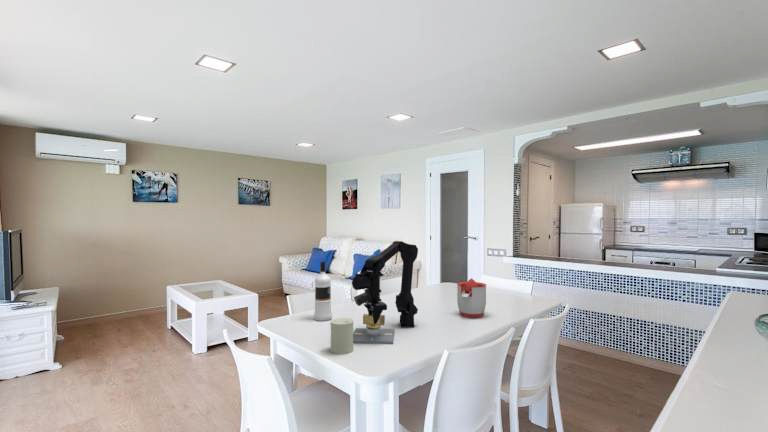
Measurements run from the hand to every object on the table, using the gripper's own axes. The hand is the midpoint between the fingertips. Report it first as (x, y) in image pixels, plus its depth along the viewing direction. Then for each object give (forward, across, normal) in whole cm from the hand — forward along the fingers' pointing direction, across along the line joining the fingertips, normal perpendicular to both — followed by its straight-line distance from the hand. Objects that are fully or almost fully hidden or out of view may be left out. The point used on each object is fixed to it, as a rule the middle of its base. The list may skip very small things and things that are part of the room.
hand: (373, 322), depth 163 cm
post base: (+6, 0, 0) cm, 6 cm away
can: (+7, +11, -17) cm, 21 cm away
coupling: (+2, 0, 0) cm, 2 cm away
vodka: (+6, -37, -15) cm, 40 cm away
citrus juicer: (+6, -14, +60) cm, 62 cm away
